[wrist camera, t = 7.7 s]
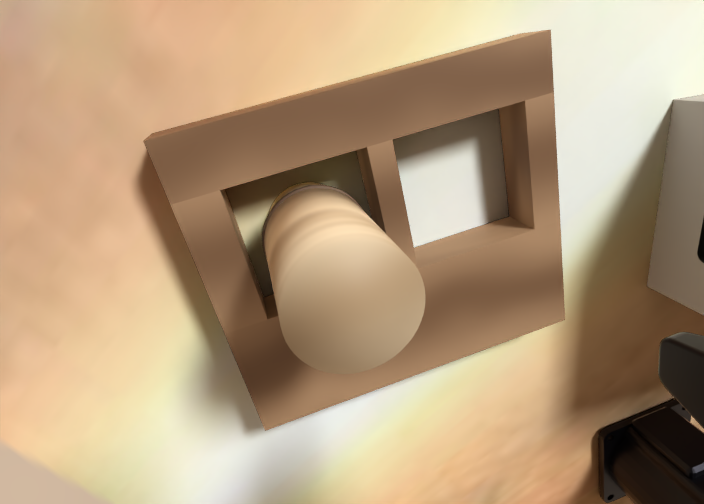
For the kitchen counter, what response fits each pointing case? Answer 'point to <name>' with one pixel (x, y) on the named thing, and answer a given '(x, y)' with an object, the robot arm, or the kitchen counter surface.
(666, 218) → the icon cube
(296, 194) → the peg
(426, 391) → the kitchen counter surface
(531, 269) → the board
